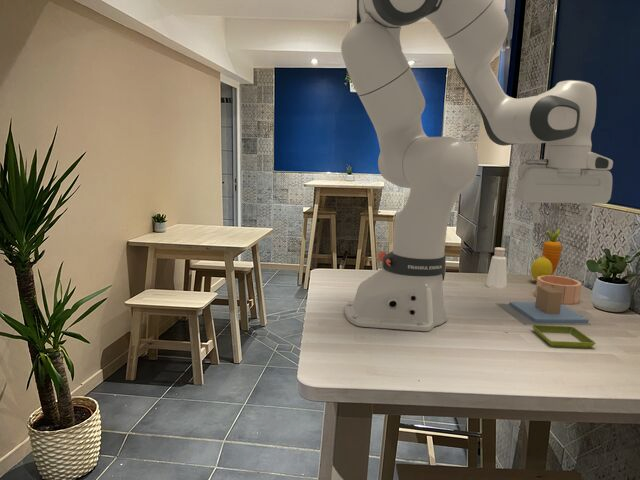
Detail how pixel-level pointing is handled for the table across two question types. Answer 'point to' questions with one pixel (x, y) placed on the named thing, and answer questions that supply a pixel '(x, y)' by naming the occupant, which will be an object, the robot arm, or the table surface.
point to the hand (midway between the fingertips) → (558, 223)
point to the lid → (548, 308)
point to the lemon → (541, 267)
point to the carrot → (552, 250)
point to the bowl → (562, 287)
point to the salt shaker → (497, 270)
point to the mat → (526, 320)
